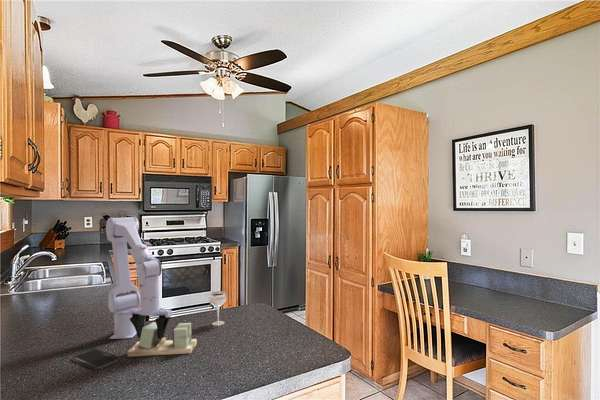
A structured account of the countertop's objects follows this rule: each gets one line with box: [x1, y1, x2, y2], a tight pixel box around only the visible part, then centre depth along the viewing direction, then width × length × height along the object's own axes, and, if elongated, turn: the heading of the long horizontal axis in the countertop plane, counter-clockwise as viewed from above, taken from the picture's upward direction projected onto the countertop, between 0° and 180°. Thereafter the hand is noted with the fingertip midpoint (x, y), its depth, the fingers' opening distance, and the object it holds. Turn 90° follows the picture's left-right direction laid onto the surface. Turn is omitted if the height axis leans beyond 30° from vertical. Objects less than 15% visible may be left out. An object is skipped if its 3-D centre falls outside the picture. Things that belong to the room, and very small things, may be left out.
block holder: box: [127, 322, 198, 357], centre depth 116 cm, size 8×20×8 cm, turn 93°
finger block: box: [138, 321, 163, 349], centre depth 115 cm, size 5×6×6 cm
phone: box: [71, 348, 121, 371], centre depth 109 cm, size 8×1×15 cm
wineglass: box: [208, 290, 227, 326], centre depth 139 cm, size 7×7×12 cm
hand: (150, 337), depth 116 cm, fingers open, 7 cm apart
